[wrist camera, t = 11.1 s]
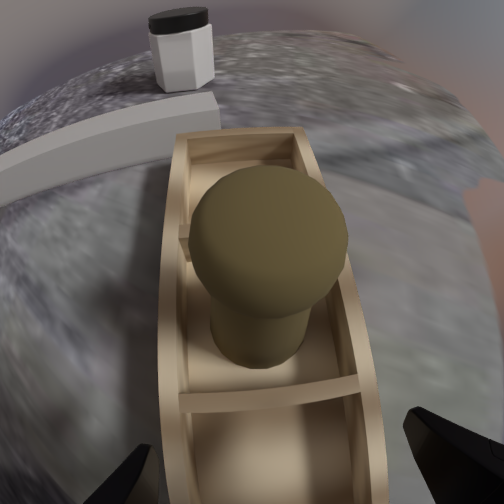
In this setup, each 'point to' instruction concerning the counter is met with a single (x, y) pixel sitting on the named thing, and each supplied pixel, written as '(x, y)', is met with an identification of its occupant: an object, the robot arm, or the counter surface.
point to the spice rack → (261, 380)
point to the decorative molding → (104, 144)
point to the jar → (182, 48)
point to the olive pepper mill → (265, 259)
